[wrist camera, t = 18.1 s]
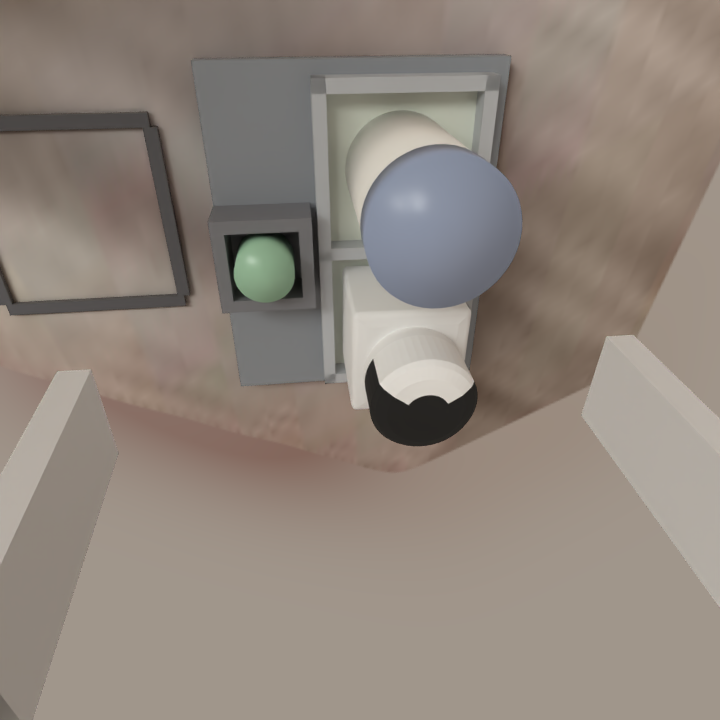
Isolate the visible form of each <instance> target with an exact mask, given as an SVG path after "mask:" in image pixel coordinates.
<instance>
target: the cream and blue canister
mask: <svg viewBox="0 0 720 720" xmlns="http://www.w3.org/2000/svg"><path fill="white" fill-rule="evenodd" d="M345 175H346V182H347V186H348V189H349V193H350V196H351V199H352V203H353V206H354V209H355V212H356V216H357V219H358V222H359V226H360V231H361V239H362V242H363V246H364V250H365V253H366V256H367V260H368V263H369V266H370V268H371V270H372V273H373V274H374V276H375V278H376V279H377V281H378V282H379V283H380V284H381V286H382V287H383V288H384V289H385V290H386V291H387V292H388V293H390V294H391V295H392V296H394V297H395V298H397V299H399V300H401V301H403V302H405V303H407V304H410V305H413V306H417V307H422V308H432V309H434V308H446V307H452V306H456V305H459V304H462V303H465V302H467V301H470V300H472V299H474V298H475V297H477V296H479V295H481V294H482V293H484V292H485V291H486V290H488V289H489V288H490V287H491V286H492V285H494V284H495V283H496V282H497V281H498V280H499V279H500V277H501V276H502V275H503V274H504V272H505V271H506V270H507V269H508V267H509V265H510V264H511V262H512V260H513V258H514V256H515V254H516V252H517V249H518V246H519V243H520V239H521V233H522V211H521V206H520V202H519V199H518V196H517V194H516V191H515V190H514V188H513V186H512V185H511V183H510V182H509V180H508V179H507V178H506V177H505V176H504V175H503V174H502V173H501V172H500V171H499V170H498V169H497V168H495V167H494V166H493V165H492V164H490V163H489V162H488V161H487V160H485V159H484V158H483V157H481V156H480V155H478V154H477V153H475V152H473V151H471V150H469V149H468V148H467V147H465V146H464V145H463V144H462V143H461V142H459V141H458V140H457V139H456V138H454V137H453V136H452V135H451V134H449V133H448V132H447V131H446V130H445V129H443V128H442V127H441V126H440V125H438V124H437V123H436V122H435V121H433V120H432V119H431V118H429V117H427V116H426V115H423V114H421V113H418V112H415V111H409V110H396V111H390V112H387V113H384V114H381V115H379V116H377V117H375V118H374V119H372V120H371V121H369V122H368V123H367V124H366V125H365V126H364V127H363V128H362V129H361V130H360V131H359V132H358V134H357V135H356V136H355V138H354V140H353V141H352V143H351V145H350V148H349V150H348V154H347V158H346V165H345Z"/></svg>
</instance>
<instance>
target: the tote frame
mask: <svg viewBox="0 0 720 720" xmlns="http://www.w3.org/2000/svg"><path fill="white" fill-rule="evenodd" d="M106 128H143V132H144V137H145V142H146V146H147V151H148V156H149V161H150V165H151V170H152V175H153V180H154V184H155V189H156V194H157V199H158V203H159V208H160V213H161V218H162V223H163V227H164V232H165V237H166V242H167V246H168V251H169V256H170V261H171V265H172V270H173V275H174V280H175V284H176V289H177V294H167V295H148V296H129V297H110V298H91V299H72V300H53V301H34V302H15V303H14V301H13V299H12V296H11V294H10V291H9V289H8V286H7V284H6V281H5V279H4V276H3V274H2V271H1V269H0V305H6V306H7V309H8V311H9V313H10V315H24V314H43V313H61V312H79V311H98V310H116V309H134V308H152V307H171V306H186V299H185V295H190V290H189V284H188V279H187V274H186V269H185V264H184V259H183V254H182V249H181V244H180V238H179V233H178V228H177V223H176V218H175V213H174V208H173V203H172V198H171V192H170V187H169V182H168V177H167V172H166V167H165V162H164V157H163V151H162V146H161V141H160V136H159V131H158V126H150V121H149V116H148V112H114V113H68V114H22V115H0V131H24V130H65V129H106Z"/></svg>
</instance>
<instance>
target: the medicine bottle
mask: <svg viewBox="0 0 720 720" xmlns="http://www.w3.org/2000/svg"><path fill="white" fill-rule="evenodd" d="M342 275H343V357H344V363H345V369H346V375H347V381H348V387H349V393H350V399H351V405H352V407H353V408H354V409H357V410H358V409H369V410H370V414H371V419H372V421H373V424H374V426H375V427H376V429H377V430H378V431H379V432H380V433H381V434H382V435H383V436H385V437H386V438H388V439H389V440H391V441H394V442H396V443H399V444H403V445H408V446H427V445H432V444H436V443H439V442H441V441H444V440H446V439H448V438H450V437H451V436H453V435H454V434H456V433H457V432H458V431H459V430H461V429H462V428H463V426H464V425H465V424H466V423H467V422H468V420H469V419H470V418H471V416H472V414H473V412H474V410H475V407H476V404H477V388H476V385H475V382H474V380H473V378H472V376H471V374H470V372H469V370H468V368H467V366H466V364H465V362H464V360H465V354H466V347H467V340H468V333H469V327H470V320H471V309H470V308H469V306H468V304H467V303H466V302H465V303H462V304H459V305H456V306H452V307H446V308H434V309H432V308H422V307H417V306H413V305H410V304H407V303H405V302H403V301H401V300H399V299H397V298H395V297H394V296H392V295H391V294H390V293H388V292H387V291H386V290H385V289H384V288H383V287H382V286H381V284H380V283H379V282H378V281H377V279H376V278H375V276H374V274H373V273H372V270H371V268H370V266H347V267H345V268H344V269H343V272H342Z"/></svg>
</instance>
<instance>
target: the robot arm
mask: <svg viewBox="0 0 720 720" xmlns="http://www.w3.org/2000/svg"><path fill="white" fill-rule="evenodd" d="M581 416H582V417H583V418H584V420H585V421H586V423H587V424H588V426H589V427H590V428H591V430H592V431H593V432H594V434H595V435H596V437H597V438H598V439H599V441H600V442H601V444H602V445H603V446H604V448H605V449H606V451H607V452H608V453H609V455H610V456H611V458H612V459H613V460H614V462H615V463H616V464H617V466H618V467H619V469H620V470H621V471H622V473H623V474H624V476H625V477H626V478H627V480H628V481H629V482H630V484H631V485H632V487H633V488H634V489H635V491H636V492H637V494H638V495H639V496H640V498H641V499H642V500H643V502H644V503H645V505H646V506H647V507H648V509H649V510H650V512H651V513H652V514H653V516H654V517H655V519H656V520H657V521H658V523H659V524H660V526H661V527H662V528H663V530H664V531H665V532H666V534H667V535H668V537H669V538H670V539H671V541H672V542H673V544H674V545H675V546H676V548H677V549H678V551H679V552H680V553H681V555H682V556H683V558H684V559H685V560H686V562H687V563H688V564H689V566H690V567H691V569H692V570H693V571H694V573H695V574H696V575H697V577H698V578H699V580H700V581H701V582H702V584H703V585H704V587H705V588H706V589H707V591H708V592H709V594H710V595H711V596H712V598H713V599H714V601H715V602H716V603H717V605H718V606H719V607H720V418H718V416H717V415H716V414H714V413H713V412H712V411H711V410H710V409H709V408H708V407H707V406H706V405H705V404H704V403H703V402H702V401H701V400H700V399H699V398H698V397H697V396H696V395H695V394H694V393H693V392H692V391H691V390H690V389H689V388H688V387H687V386H685V384H684V383H682V382H681V381H680V380H679V379H678V378H677V377H676V376H675V375H674V374H673V373H672V372H671V371H670V370H669V369H668V368H667V367H666V366H665V365H664V364H663V363H662V362H661V361H660V360H658V358H657V357H656V356H655V355H654V354H653V353H652V352H650V351H649V350H648V349H647V348H646V347H645V346H644V345H643V344H642V343H641V342H640V341H639V340H638V339H637V338H636V337H635V336H634V335H621V336H606V339H605V343H604V346H603V349H602V352H601V355H600V358H599V361H598V364H597V367H596V371H595V374H594V377H593V380H592V383H591V386H590V389H589V392H588V395H587V399H586V402H585V405H584V408H583V411H582V414H581ZM117 457H118V450H117V447H116V444H115V440H114V438H113V434H112V431H111V429H110V425H109V422H108V419H107V416H106V413H105V411H104V407H103V404H102V401H101V398H100V395H99V392H98V389H97V386H96V383H95V380H94V377H93V374H92V370H91V369H88V370H72V371H57V373H56V374H55V376H54V378H53V380H52V382H51V384H50V386H49V387H48V389H47V391H46V393H45V395H44V397H43V398H42V400H41V402H40V404H39V405H38V408H37V409H36V411H35V413H34V415H33V416H32V418H31V420H30V422H29V424H28V426H27V428H26V429H25V431H24V433H23V435H22V436H21V438H20V440H19V442H18V444H17V446H16V447H15V449H14V451H13V453H12V455H11V457H10V458H9V460H8V462H7V464H6V466H5V468H4V469H3V471H2V473H1V475H0V720H33V717H34V714H35V711H36V708H37V705H38V702H39V699H40V696H41V693H42V689H43V686H44V683H45V680H46V677H47V674H48V671H49V667H50V665H51V662H52V658H53V655H54V652H55V649H56V646H57V643H58V640H59V636H60V634H61V630H62V627H63V624H64V621H65V618H66V615H67V612H68V609H69V606H70V603H71V599H72V596H73V593H74V590H75V587H76V584H77V581H78V578H79V574H80V572H81V568H82V565H83V562H84V559H85V556H86V553H87V550H88V547H89V544H90V540H91V537H92V534H93V531H94V528H95V525H96V521H97V519H98V516H99V513H100V509H101V506H102V503H103V500H104V497H105V494H106V491H107V488H108V485H109V481H110V478H111V475H112V472H113V469H114V466H115V463H116V460H117Z"/></svg>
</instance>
